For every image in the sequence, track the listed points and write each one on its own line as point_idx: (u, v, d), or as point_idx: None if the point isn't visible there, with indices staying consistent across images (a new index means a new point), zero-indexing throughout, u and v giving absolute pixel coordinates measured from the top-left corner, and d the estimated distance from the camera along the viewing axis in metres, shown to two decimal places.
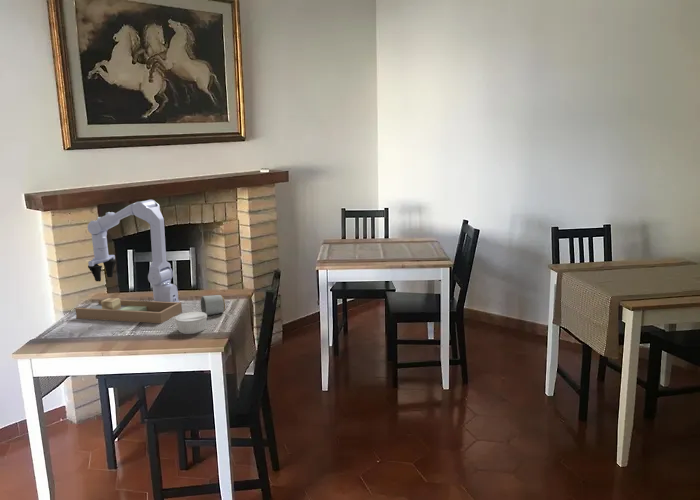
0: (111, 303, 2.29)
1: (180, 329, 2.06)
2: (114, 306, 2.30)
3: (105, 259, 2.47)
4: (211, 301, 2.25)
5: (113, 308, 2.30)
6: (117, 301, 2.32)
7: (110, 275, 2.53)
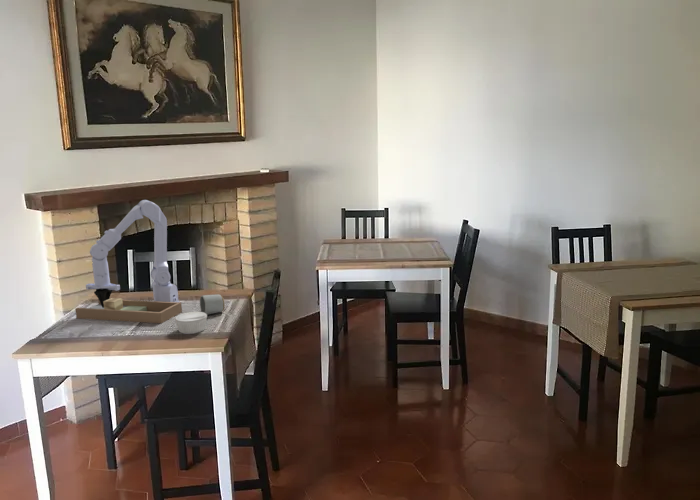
0: (113, 303, 2.29)
1: (180, 329, 2.06)
2: (116, 306, 2.30)
3: None
4: (210, 300, 2.26)
5: (115, 308, 2.30)
6: (119, 301, 2.32)
7: None
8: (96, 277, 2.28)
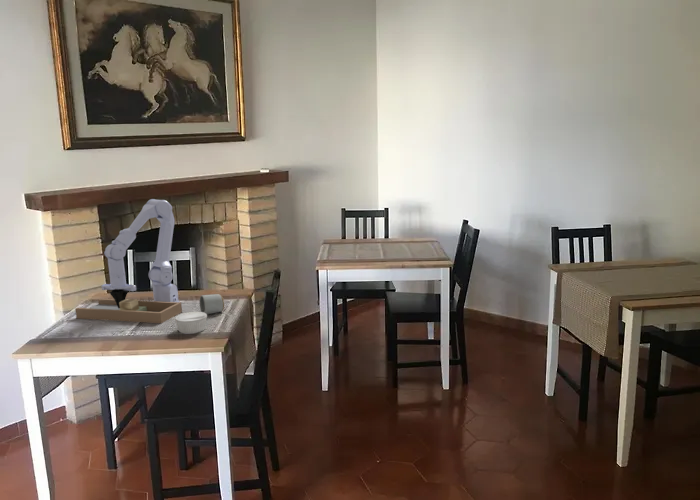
0: (129, 304, 2.27)
1: (180, 329, 2.06)
2: (132, 307, 2.28)
3: None
4: (210, 300, 2.26)
5: (131, 309, 2.27)
6: (135, 302, 2.30)
7: None
8: (112, 278, 2.26)
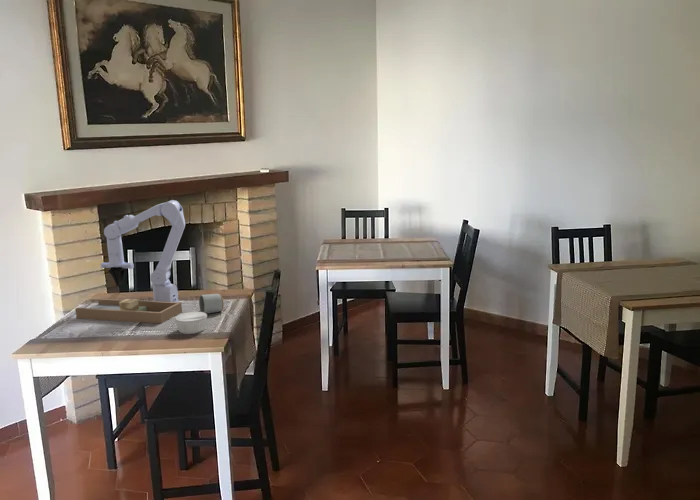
0: (129, 304, 2.27)
1: (180, 329, 2.06)
2: (132, 307, 2.28)
3: None
4: (210, 300, 2.27)
5: (131, 309, 2.27)
6: (135, 302, 2.30)
7: None
8: (111, 256, 2.36)
